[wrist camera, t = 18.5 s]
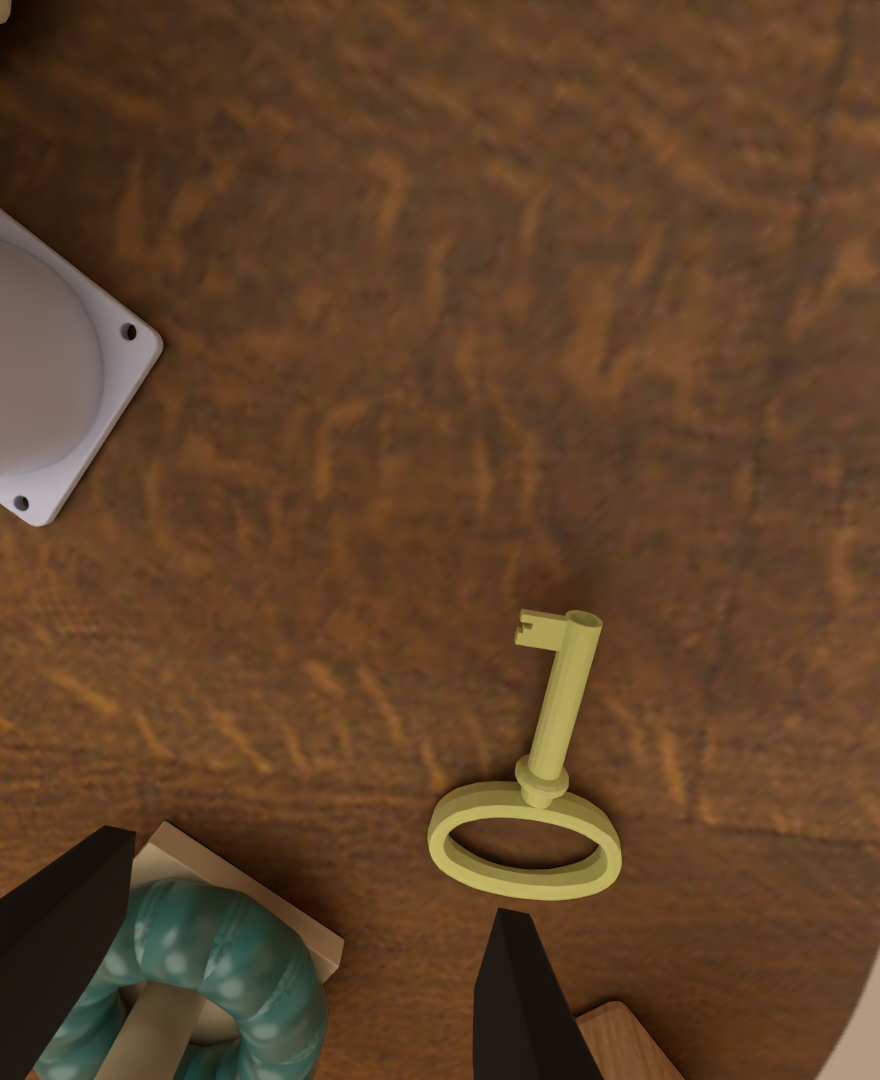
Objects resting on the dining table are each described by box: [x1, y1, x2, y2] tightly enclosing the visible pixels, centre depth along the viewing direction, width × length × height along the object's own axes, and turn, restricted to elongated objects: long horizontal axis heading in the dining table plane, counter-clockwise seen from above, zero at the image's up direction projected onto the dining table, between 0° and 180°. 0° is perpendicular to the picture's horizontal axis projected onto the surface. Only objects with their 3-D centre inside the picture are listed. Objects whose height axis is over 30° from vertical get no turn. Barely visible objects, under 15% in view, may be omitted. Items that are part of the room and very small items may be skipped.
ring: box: [33, 877, 329, 1080], centre depth 21 cm, size 11×11×3 cm
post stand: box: [94, 821, 344, 1080], centre depth 20 cm, size 9×9×7 cm
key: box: [427, 609, 622, 900], centre depth 20 cm, size 7×12×2 cm, turn 9°
